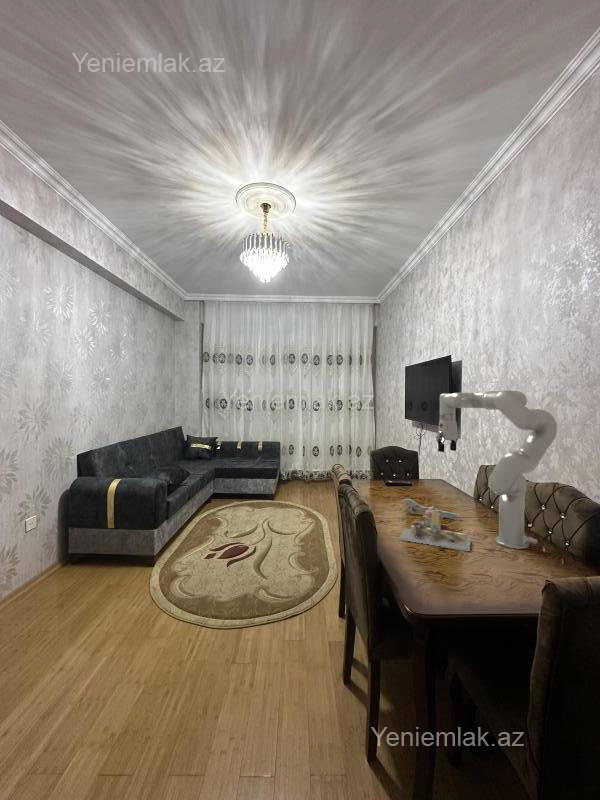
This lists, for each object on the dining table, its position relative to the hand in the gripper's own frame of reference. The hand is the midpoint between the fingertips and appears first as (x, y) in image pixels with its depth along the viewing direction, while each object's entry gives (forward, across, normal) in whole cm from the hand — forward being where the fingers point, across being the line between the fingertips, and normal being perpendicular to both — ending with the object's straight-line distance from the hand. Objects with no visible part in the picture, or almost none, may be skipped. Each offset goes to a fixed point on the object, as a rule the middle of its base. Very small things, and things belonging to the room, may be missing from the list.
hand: (447, 451), depth 185 cm
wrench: (+37, +2, +11) cm, 38 cm away
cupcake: (+36, -11, 0) cm, 38 cm away
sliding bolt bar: (+35, -24, -13) cm, 44 cm away
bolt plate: (+36, -26, -13) cm, 47 cm away
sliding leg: (+34, -25, -12) cm, 44 cm away
